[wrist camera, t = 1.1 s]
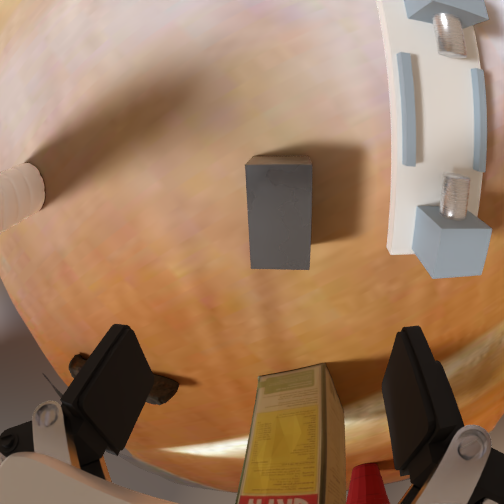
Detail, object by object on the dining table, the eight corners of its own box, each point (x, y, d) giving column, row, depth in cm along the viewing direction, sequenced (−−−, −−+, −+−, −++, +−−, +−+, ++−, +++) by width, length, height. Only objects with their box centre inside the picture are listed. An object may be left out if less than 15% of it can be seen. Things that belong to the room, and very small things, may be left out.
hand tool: (84, 366, 42) (72, 385, 38) (76, 350, 40) (62, 369, 36) (183, 391, 40) (174, 415, 35) (178, 375, 38) (168, 401, 34)
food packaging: (253, 375, 35) (216, 565, 13) (326, 360, 32) (325, 572, 10) (287, 423, 40) (270, 569, 18) (346, 413, 37) (348, 567, 15)
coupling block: (253, 155, 23) (245, 165, 19) (308, 155, 23) (312, 164, 19) (257, 243, 27) (250, 268, 23) (307, 244, 26) (309, 269, 22)
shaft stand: (370, -22, 14) (390, -54, 8) (458, -2, 13) (493, -20, 7) (386, 247, 25) (408, 285, 19) (464, 245, 23) (495, 278, 18)
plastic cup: (335, 476, 51) (334, 518, 40) (349, 460, 46) (350, 509, 35) (377, 473, 50) (380, 514, 39) (395, 456, 45) (400, 502, 34)
